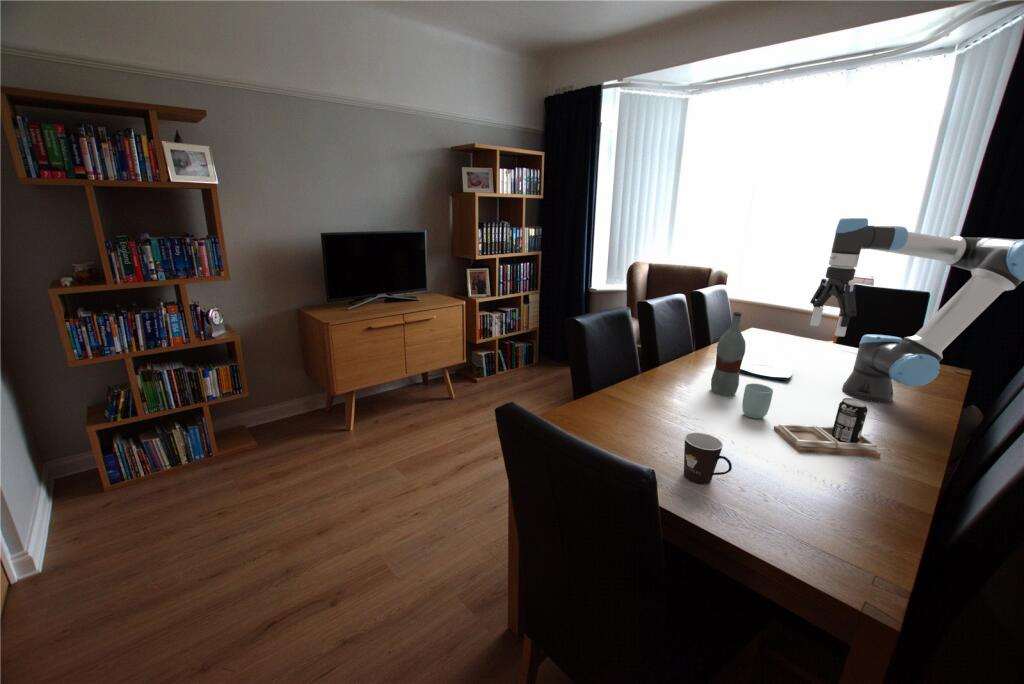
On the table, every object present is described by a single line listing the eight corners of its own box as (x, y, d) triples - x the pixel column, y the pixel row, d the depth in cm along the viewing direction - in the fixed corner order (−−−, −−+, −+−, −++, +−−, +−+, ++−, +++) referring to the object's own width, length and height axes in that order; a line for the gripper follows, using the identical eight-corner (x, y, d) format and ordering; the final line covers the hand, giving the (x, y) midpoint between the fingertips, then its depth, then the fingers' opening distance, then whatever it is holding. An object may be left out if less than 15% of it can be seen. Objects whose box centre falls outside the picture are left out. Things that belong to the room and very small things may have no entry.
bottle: (703, 388, 171) (717, 310, 162) (722, 386, 174) (736, 309, 166) (724, 398, 162) (739, 316, 154) (742, 395, 166) (758, 314, 157)
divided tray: (846, 433, 140) (848, 425, 139) (879, 457, 126) (882, 448, 125) (773, 429, 140) (775, 421, 140) (798, 452, 127) (801, 444, 126)
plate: (792, 371, 196) (793, 365, 195) (790, 385, 179) (791, 378, 178) (740, 361, 206) (741, 355, 205) (733, 373, 189) (734, 367, 189)
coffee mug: (673, 467, 117) (678, 432, 114) (705, 467, 118) (711, 432, 115) (694, 495, 106) (701, 457, 103) (729, 494, 107) (737, 456, 104)
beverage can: (851, 436, 135) (861, 398, 132) (862, 446, 129) (874, 408, 126) (826, 433, 136) (836, 396, 133) (837, 443, 130) (847, 405, 127)
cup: (756, 423, 144) (762, 393, 141) (735, 413, 151) (740, 385, 148) (772, 419, 148) (778, 390, 145) (750, 409, 154) (756, 381, 151)
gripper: (807, 262, 159) (794, 321, 165) (856, 271, 135) (838, 340, 141) (829, 263, 159) (815, 322, 165) (882, 272, 135) (863, 341, 141)
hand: (826, 330), depth 153 cm, fingers open, 13 cm apart
